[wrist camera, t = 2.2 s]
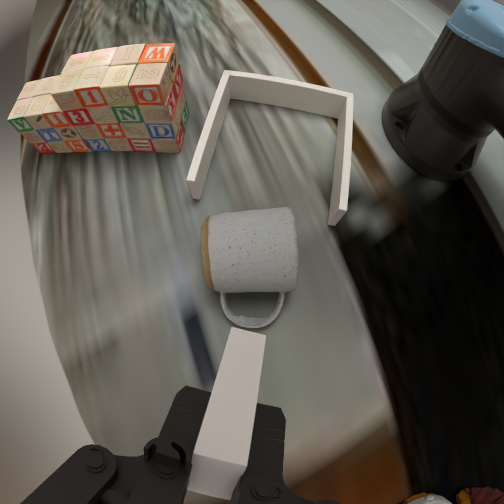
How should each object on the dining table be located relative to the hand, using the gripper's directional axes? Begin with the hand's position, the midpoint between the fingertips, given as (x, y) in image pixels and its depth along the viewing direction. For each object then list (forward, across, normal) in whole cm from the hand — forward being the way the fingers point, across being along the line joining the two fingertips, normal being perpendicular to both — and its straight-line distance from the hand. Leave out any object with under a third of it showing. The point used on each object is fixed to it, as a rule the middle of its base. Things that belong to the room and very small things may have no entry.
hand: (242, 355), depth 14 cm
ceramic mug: (+19, 0, -5) cm, 19 cm away
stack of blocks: (+27, -23, +6) cm, 36 cm away
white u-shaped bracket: (+27, -2, +7) cm, 28 cm away
